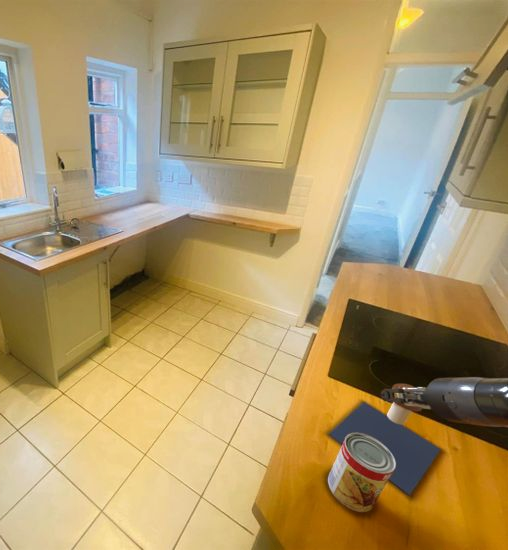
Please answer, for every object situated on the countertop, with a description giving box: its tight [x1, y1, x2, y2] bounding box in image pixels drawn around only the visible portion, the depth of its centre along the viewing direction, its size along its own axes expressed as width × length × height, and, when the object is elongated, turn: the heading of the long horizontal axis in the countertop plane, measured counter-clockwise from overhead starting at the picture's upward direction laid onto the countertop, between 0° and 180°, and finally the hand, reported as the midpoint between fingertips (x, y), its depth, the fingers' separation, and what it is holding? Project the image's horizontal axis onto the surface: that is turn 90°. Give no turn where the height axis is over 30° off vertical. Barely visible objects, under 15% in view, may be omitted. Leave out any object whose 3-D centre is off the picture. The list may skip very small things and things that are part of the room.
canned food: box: [327, 433, 396, 513], centre depth 58 cm, size 8×8×12 cm
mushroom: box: [386, 383, 423, 426], centre depth 66 cm, size 6×6×8 cm
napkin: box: [328, 401, 442, 496], centre depth 71 cm, size 18×16×1 cm
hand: (398, 397), depth 67 cm, fingers closed on mushroom, 5 cm apart
